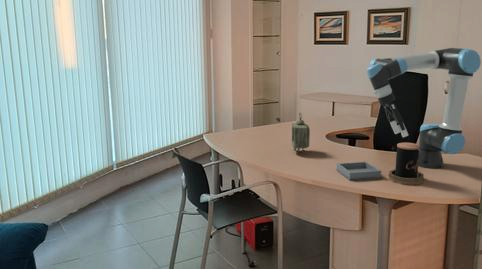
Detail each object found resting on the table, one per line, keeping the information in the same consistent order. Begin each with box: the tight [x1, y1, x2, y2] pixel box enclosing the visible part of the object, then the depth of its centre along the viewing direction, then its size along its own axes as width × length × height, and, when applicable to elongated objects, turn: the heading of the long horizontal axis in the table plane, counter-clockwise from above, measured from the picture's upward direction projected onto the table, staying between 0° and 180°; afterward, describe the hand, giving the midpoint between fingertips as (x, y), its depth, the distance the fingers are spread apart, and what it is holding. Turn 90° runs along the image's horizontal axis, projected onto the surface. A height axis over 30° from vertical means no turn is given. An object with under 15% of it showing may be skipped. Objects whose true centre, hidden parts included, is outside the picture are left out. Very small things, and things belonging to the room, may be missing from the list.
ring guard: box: [388, 168, 424, 186], centre depth 243 cm, size 16×16×3 cm
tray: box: [336, 161, 382, 182], centre depth 251 cm, size 17×17×4 cm
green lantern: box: [291, 111, 311, 155], centre depth 292 cm, size 14×9×25 cm, turn 1°
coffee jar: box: [394, 142, 420, 178], centre depth 241 cm, size 11×11×18 cm
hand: (401, 134), depth 235 cm, fingers open, 13 cm apart
